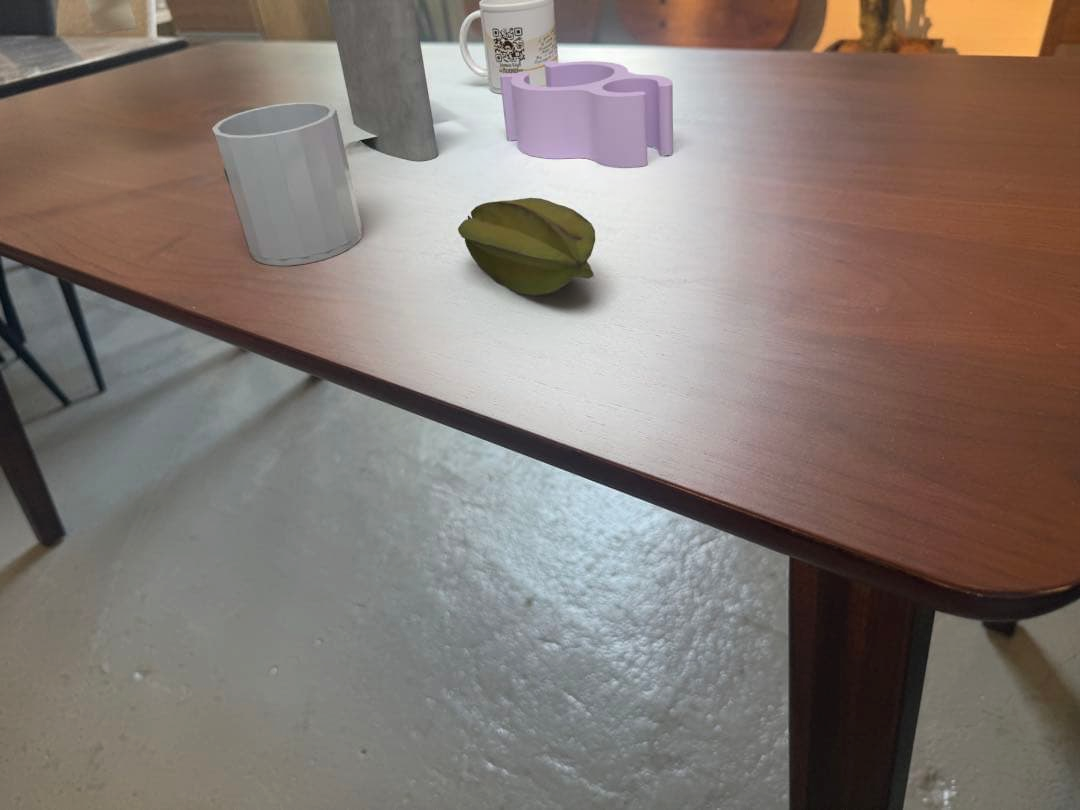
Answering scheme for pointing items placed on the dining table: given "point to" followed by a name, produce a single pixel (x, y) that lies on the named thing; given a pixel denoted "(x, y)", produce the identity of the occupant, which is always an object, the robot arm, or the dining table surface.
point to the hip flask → (385, 75)
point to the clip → (590, 113)
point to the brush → (111, 15)
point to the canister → (290, 182)
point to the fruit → (529, 244)
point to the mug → (513, 39)
